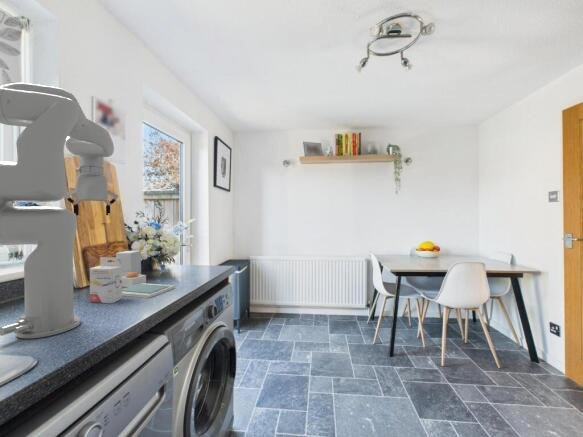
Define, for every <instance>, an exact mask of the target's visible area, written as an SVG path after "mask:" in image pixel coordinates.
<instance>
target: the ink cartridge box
mask: <svg viewBox="0 0 583 437" xmlns="http://www.w3.org/2000/svg"><path fill="white" fill-rule="evenodd" d="M110 261H111V262H110ZM99 262H100V265H97V266H94V267H89V303H98V304H99V303H101V304H102V303H103V304H113V303H116V302H118V301H120V300H122V299H123V296H122V289H123V287H122V266H121V258H116V257H106V256H105V257H104V256H101V257H100V258H99Z"/></svg>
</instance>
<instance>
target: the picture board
mask: <svg viewBox="0 0 583 437" xmlns="http://www.w3.org/2000/svg"><path fill="white" fill-rule="evenodd" d="M174 289H176V286H175V285H173V284H159V283H147V282H146V283H141V284H138V285H134V286H131V287H124V288H122V297H132V298H141V299H150V298H152V297H156V296H158V295H161V294H164V293H165V292H169V291H171V290H174Z"/></svg>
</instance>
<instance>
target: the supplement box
mask: <svg viewBox="0 0 583 437" xmlns="http://www.w3.org/2000/svg"><path fill="white" fill-rule="evenodd" d="M141 253H142V252H141V250H125V251H119V252H116V253H115V258H121V266H122V277H123V276H127V273H129V272H138V275H142V263H141V262H142V258H141V257H142V256H141V255H142V254H141Z"/></svg>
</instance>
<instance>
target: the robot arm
mask: <svg viewBox="0 0 583 437" xmlns="http://www.w3.org/2000/svg"><path fill="white" fill-rule="evenodd" d="M0 124H3V125H5V126H14V127H24V129H23V130H22V131H21V133H19V135H18V137H17V139H16V142H15V143H16V144H15V145H16V153H17V161H16V162H14V161H0V246H11V245H12V246H17V245H20V246H21V245H35V246H36V247H35V248H34V250H33V251H32V252H31V253H30V254H29V255H28V256H27V257H26V259H25V261H24V264H23V271H24V272H23V273H24V274H23V276H24V277H23V279H24V282H23V283H24V284H23V285H24V286H23V287H24V315H21V316H19V317H18V319H19V320H16V321H15V323H12V324H8V325H7V324H6V325H4V326H1V327H0V336H5V335H8V334H11V333H14V334H15V337H17V338H19V339H23V340H24V339H27V340H28V339H40V338H45V337H51V336H55V335H59V334H62V333H65V332H68V331H71V330H73V329H75V328H76V327H78V326H79V325H80V324H81V323H82V318H81V317H80V316H78V315H75V312H74V305H75V304H74V303H75V302H74V299H75V298H74V246H75V245H74V244H75V238H76V232H77V228H78V218H77V216H79V215H80V208H79V207H80V206H79V203H80V202H81V201H85V202H88V201H90V202H95V201H96V202H103V203H105V204H106V205H105V216H109V214H111V206H112V205H113V204H114V203H116V200H117V199H118V198H119V195H118V194H117V193H115V192H112V191H110V190H109V189H108V188H109V187H108V180H107V177H106V175H104V170H105V169H104V166H105V165H104V161H105V160H104V159H105V158H109V157H111V156H112V155H114V151H115V147H114V142H113V139H112V137H111V135H110V133H109V131H108V130H107V129H106V128H104V127H103V126H102V125H100V124H97V123H96V122H94V121H92V120H90V119H89V118H87V116H86V115H85V113H84V111H83V109H82V107H81V105H80V103H79V100H78V99H77V98H76V97H75V95H74V94H73V93H72V92H70V91H68V90H66V89H63V88H60V87H56V86H49V85H41V84H36V83H35V84H34V83H26V82H14V83H13V82H12V83H8V84H2V85H0ZM65 147H66V149H67V151H69V152H70V153H71V154H73V155H74V156H79V157H80V158H79V159H80V160H79V161H80V162H79V163H80V164H79V166H80V167H76V168H75V172H76V173H80V174H77V175H76V176H77V177H76V182H75V183H76V184H75V188H74V189H72V190H69V191H67V176H66V164H65ZM74 194H75V198H76V199H75V200H74V199H72V197H71V196H72V195H74ZM108 196H111V197H112V199H111V200H110V201H109V200H108ZM64 198H66V200H67V201H68V202H69V203H71V205H73V211H72V210H70V209H68V208H63V207H60V206H13V203H14V202H16V203H18V202H19V203H51V202H58V201H61V200H63V199H64Z"/></svg>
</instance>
